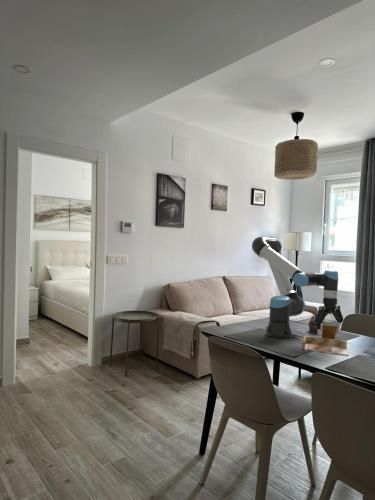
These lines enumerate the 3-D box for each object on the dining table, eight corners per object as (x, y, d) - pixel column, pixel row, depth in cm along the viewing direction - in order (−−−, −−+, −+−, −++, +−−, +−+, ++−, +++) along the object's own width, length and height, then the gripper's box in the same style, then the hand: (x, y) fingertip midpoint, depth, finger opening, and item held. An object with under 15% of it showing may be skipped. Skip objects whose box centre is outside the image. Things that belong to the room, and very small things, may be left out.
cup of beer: (336, 340, 208) (337, 320, 207) (337, 344, 199) (338, 323, 198) (319, 338, 211) (320, 318, 211) (319, 342, 202) (320, 321, 202)
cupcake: (327, 333, 226) (327, 317, 226) (315, 334, 222) (316, 318, 222) (316, 329, 235) (317, 314, 235) (304, 330, 231) (305, 315, 231)
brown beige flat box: (302, 349, 186) (302, 342, 186) (303, 342, 200) (304, 335, 200) (348, 355, 178) (348, 348, 178) (346, 348, 192) (346, 340, 192)
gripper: (318, 298, 196) (317, 337, 196) (351, 297, 206) (349, 334, 206) (308, 296, 203) (307, 333, 203) (340, 296, 213) (339, 331, 213)
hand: (328, 334), depth 205 cm, fingers open, 13 cm apart
